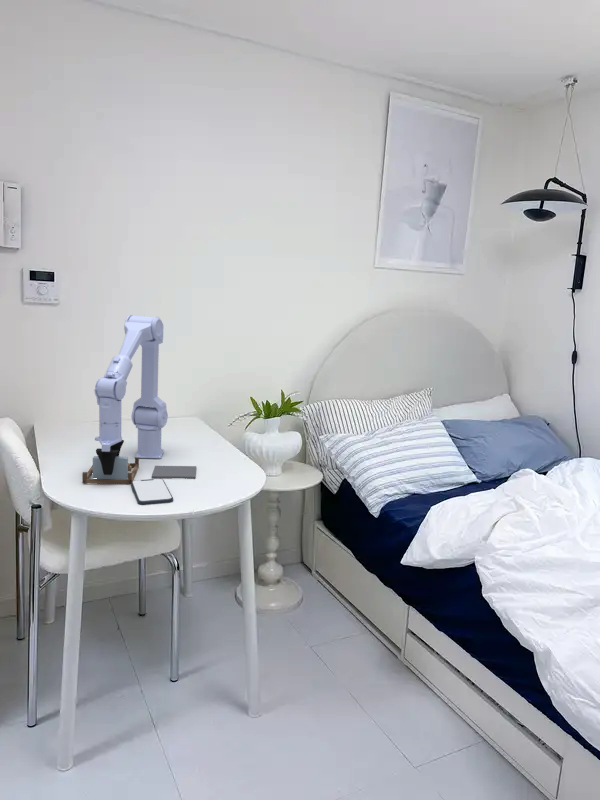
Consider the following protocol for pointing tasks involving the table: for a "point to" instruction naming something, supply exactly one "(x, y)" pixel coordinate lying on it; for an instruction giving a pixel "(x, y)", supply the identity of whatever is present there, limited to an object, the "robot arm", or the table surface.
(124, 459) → the panel
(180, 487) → the table surface
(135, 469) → the frame
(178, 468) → the mat
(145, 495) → the phone case
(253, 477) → the table surface
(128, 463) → the offcut stack
